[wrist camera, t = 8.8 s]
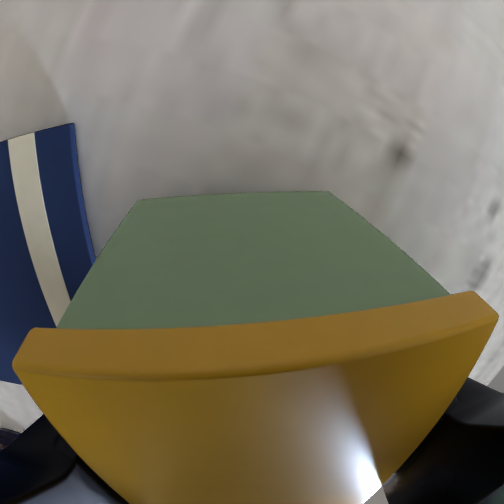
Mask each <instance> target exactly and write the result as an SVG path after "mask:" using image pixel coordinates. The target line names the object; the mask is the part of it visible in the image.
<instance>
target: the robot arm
mask: <svg viewBox="0 0 504 504" xmlns="http://www.w3.org/2000/svg"><path fill="white" fill-rule="evenodd" d="M382 486H383V489H384V492H385V495H386V498H387V501H388V503H389V504H504V393H501V392H498V391H496V390H494V389H491V388H489V387H487V386H485V385H483V384H481V383H479V382H477V381H475V380H473V379H470V378H468V377H467V379H466V380H465V382H464V384H463V385H462V387H461V388H460V390H459V392H458V393H457V395H456V396H455V398H454V399H453V401H452V402H451V403H450V405H449V406H448V408H447V409H446V411H445V412H444V413H443V415H442V416H441V418H440V419H439V420H438V422H437V423H436V424H435V426H434V427H433V428H432V430H431V431H430V432H429V433H428V435H427V436H426V437H425V438H424V440H423V441H422V442H421V443H420V445H419V446H418V447H417V448H416V449H415V451H414V452H413V453H412V454H411V455H410V456H409V457H408V459H407V460H406V461H405V462H404V463H403V464H402V465H401V466H400V467H399V469H398V470H397V471H396V472H395V473H394V474H393V475H392V476H391V477H390V478H389V479H388V480H387V481H386V482H385V483H384V484H383V485H382ZM0 504H129V503H128V502H127V501H126V500H125V499H123V498H122V497H121V496H120V495H119V494H118V493H116V492H115V491H114V490H113V489H112V488H111V487H110V486H109V485H108V484H107V483H105V482H104V481H103V480H102V479H101V478H100V477H99V476H98V475H97V474H96V473H95V472H94V471H93V470H92V469H91V468H90V467H89V466H88V465H87V464H86V463H85V462H84V461H83V460H82V459H81V458H80V456H79V455H78V454H77V453H76V452H75V451H74V450H73V449H72V448H71V447H70V445H69V444H68V443H67V442H66V441H65V440H64V439H63V437H62V436H61V435H60V434H59V433H58V431H57V430H56V429H55V428H54V426H53V425H52V424H51V423H50V421H49V420H48V419H47V418H46V416H45V415H44V414H43V415H42V416H41V417H40V418H39V419H37V420H36V421H35V422H34V423H33V424H32V425H31V426H30V427H28V428H27V429H26V430H25V431H24V432H23V433H22V434H20V435H19V436H18V437H17V438H16V439H15V440H13V441H12V442H11V443H10V444H9V445H8V446H6V447H5V448H4V449H2V450H0Z"/></svg>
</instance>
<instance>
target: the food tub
mask: <svg viewBox="0 0 504 504" xmlns="http://www.w3.org/2000/svg"><path fill="white" fill-rule="evenodd" d="M498 318H499V315H498V313H497V312H496V311H495V310H494V309H493V308H492V307H490V306H489V305H488V304H487V303H486V302H485V301H484V300H483V299H482V298H481V297H480V296H479V295H478V294H476V293H475V292H473V291H466V292H462V293H457V294H452V295H451V294H450V293H449V292H448V291H447V290H446V289H444V288H443V287H442V286H441V285H440V284H439V283H438V282H437V281H436V280H435V279H434V278H433V277H432V276H431V275H429V274H428V273H427V272H426V271H425V270H424V269H423V268H422V267H421V266H420V265H418V264H417V263H416V262H415V261H414V260H413V259H412V258H411V257H409V256H408V255H407V254H406V253H405V252H404V251H402V250H401V249H400V248H399V247H398V246H397V245H395V244H394V243H393V242H392V241H391V240H390V239H388V238H387V237H386V236H385V235H384V234H382V233H381V232H380V231H379V230H378V229H376V228H375V227H374V226H373V225H371V224H370V223H369V222H368V221H366V220H365V219H364V218H363V217H361V216H360V215H359V214H358V213H356V212H355V211H354V210H353V209H351V208H350V207H349V206H347V205H346V204H345V203H344V202H342V201H341V200H340V199H338V198H337V197H336V196H334V195H333V194H332V193H330V192H329V191H295V192H256V193H231V194H211V195H194V196H179V197H166V198H153V199H142V200H137V201H136V203H135V204H134V206H133V207H132V208H131V210H130V211H129V212H128V214H127V215H126V217H125V218H124V219H123V221H122V222H121V224H120V225H119V227H118V228H117V229H116V231H115V232H114V234H113V235H112V237H111V238H110V240H109V241H108V243H107V244H106V246H105V247H104V249H103V250H102V252H101V253H100V255H99V256H98V258H97V259H96V261H95V263H94V264H93V266H92V267H91V269H90V270H89V272H88V274H87V275H86V277H85V279H84V280H83V282H82V284H81V285H80V287H79V289H78V290H77V292H76V294H75V295H74V297H73V299H72V300H71V302H70V304H69V306H68V308H67V309H66V311H65V313H64V315H63V317H62V318H61V320H60V322H59V324H58V326H57V328H36V327H35V328H33V329H31V330H30V331H29V333H28V334H27V336H26V338H25V339H24V341H23V343H22V345H21V346H20V348H19V350H18V352H17V354H16V355H15V357H14V359H13V361H12V367H13V370H14V372H15V373H16V375H17V376H18V378H19V379H20V381H21V383H22V384H23V386H24V387H25V389H26V390H27V391H28V393H29V394H30V396H31V397H32V399H33V400H34V401H35V403H36V404H37V406H38V407H39V408H40V410H41V411H42V412H43V414H44V415H45V416H46V418H47V419H48V420H49V421H50V423H51V424H52V425H53V426H54V428H55V429H56V430H57V431H58V433H59V434H60V435H61V436H62V437H63V439H64V440H65V441H66V442H67V443H68V444H69V445H70V447H71V448H72V449H73V450H74V451H75V452H76V453H77V454H78V455H79V456H80V458H81V459H82V460H83V461H84V462H85V463H86V464H87V465H88V466H89V467H90V468H91V469H92V470H93V471H94V472H95V473H96V474H97V475H98V476H99V477H100V478H101V479H102V480H103V481H104V482H105V483H107V484H108V485H109V486H110V487H111V488H112V489H113V490H114V491H115V492H116V493H118V494H119V495H120V496H121V497H122V498H123V499H125V500H126V501H127V502H128V503H129V504H363V503H364V502H365V501H366V500H367V499H369V498H370V497H371V496H372V495H373V494H374V493H375V492H376V491H377V490H378V489H379V488H380V487H381V486H382V485H383V484H384V483H385V482H386V481H387V480H388V479H389V478H390V477H391V476H392V475H393V474H394V473H395V472H396V471H397V470H398V469H399V467H400V466H401V465H402V464H403V463H404V462H405V461H406V460H407V459H408V457H409V456H410V455H411V454H412V453H413V452H414V451H415V449H416V448H417V447H418V446H419V445H420V443H421V442H422V441H423V440H424V438H425V437H426V436H427V435H428V433H429V432H430V431H431V430H432V428H433V427H434V426H435V424H436V423H437V422H438V420H439V419H440V418H441V416H442V415H443V413H444V412H445V411H446V409H447V408H448V406H449V405H450V403H451V402H452V401H453V399H454V398H455V396H456V395H457V393H458V392H459V390H460V388H461V387H462V385H463V384H464V382H465V380H466V379H467V377H468V376H469V374H470V372H471V371H472V369H473V367H474V365H475V364H476V362H477V360H478V358H479V357H480V355H481V353H482V351H483V349H484V347H485V345H486V344H487V342H488V340H489V338H490V336H491V334H492V332H493V330H494V328H495V325H496V323H497V321H498Z"/></svg>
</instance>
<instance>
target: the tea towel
mask: <svg viewBox="0 0 504 504" xmlns="http://www.w3.org/2000/svg"><path fill="white" fill-rule="evenodd" d="M95 261H96V260H95V256H94V252H93V247H92V243H91V238H90V233H89V229H88V224H87V218H86V213H85V207H84V202H83V196H82V189H81V182H80V175H79V168H78V159H77V150H76V140H75V128H74V123H70V124H65V125H61V126H56V127H52V128H48V129H44V130H41V131H37V132H33V133H29V134H26V135H22V136H19V137H16V138H12V139H9V140H6V141H3V142H0V380H1V381H6V382H11V383H16V384H22V383H21V381H20V379H19V378H18V376H17V375H16V373H15V372H14V370H13V367H12V361H13V359H14V357H15V355H16V354H17V352H18V350H19V348H20V346H21V345H22V343H23V341H24V339H25V338H26V336H27V334H28V333H29V331H30V330H31V329H33V328H35V327H36V328H57V326H58V324H59V322H60V320H61V318H62V317H63V315H64V313H65V311H66V309H67V308H68V306H69V304H70V302H71V300H72V299H73V297H74V295H75V294H76V292H77V290H78V289H79V287H80V285H81V284H82V282H83V280H84V279H85V277H86V275H87V274H88V272H89V270H90V269H91V267H92V266H93V264H94V263H95ZM22 385H23V384H22Z"/></svg>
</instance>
